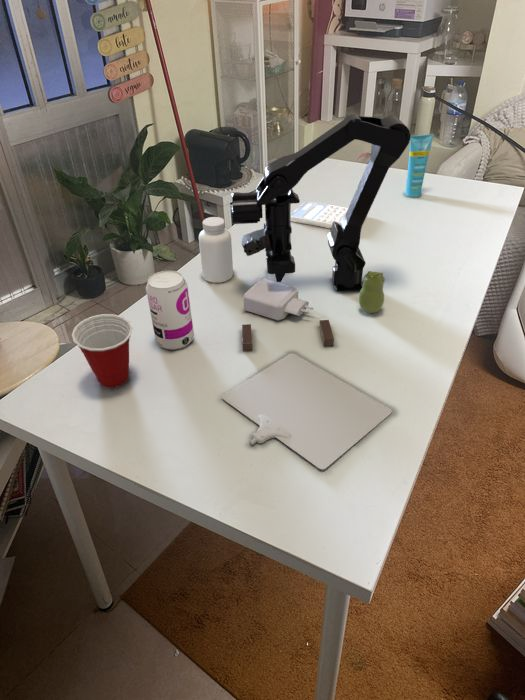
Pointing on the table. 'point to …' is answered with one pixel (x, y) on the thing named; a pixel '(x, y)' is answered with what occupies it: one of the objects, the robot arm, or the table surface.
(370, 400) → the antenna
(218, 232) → the pill bottle
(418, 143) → the tube
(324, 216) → the calculator
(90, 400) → the table surface
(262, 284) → the charger
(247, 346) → the bay
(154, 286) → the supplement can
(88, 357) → the plastic cup
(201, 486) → the table surface
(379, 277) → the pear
